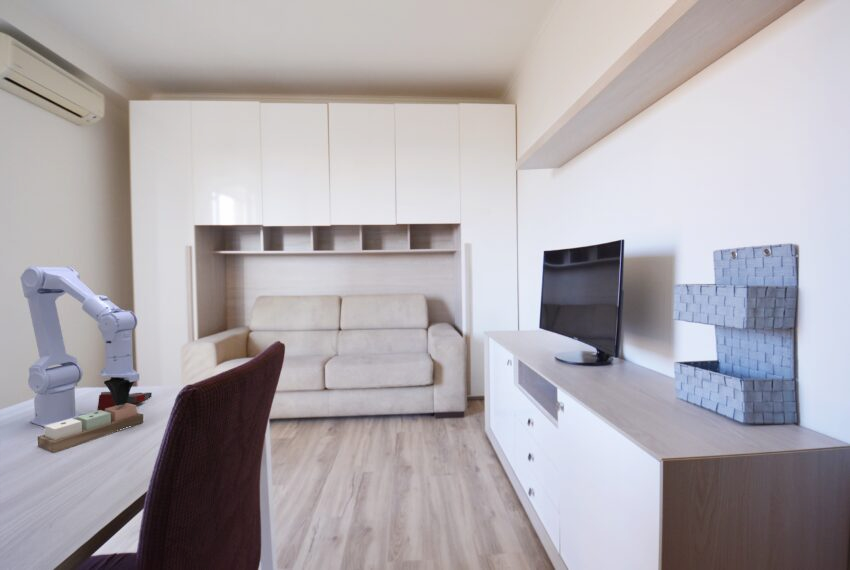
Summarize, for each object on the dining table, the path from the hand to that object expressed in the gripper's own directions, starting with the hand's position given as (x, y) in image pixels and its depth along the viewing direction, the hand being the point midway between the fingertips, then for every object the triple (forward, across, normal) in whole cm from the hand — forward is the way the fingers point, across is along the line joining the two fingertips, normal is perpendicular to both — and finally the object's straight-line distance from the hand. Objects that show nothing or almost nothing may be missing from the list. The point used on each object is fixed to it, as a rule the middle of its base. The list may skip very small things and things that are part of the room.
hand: (120, 404), depth 100 cm
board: (+6, 0, -6) cm, 8 cm away
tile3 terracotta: (+4, 0, 0) cm, 4 cm away
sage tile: (+4, 0, -6) cm, 7 cm away
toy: (+6, -16, +9) cm, 20 cm away
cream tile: (+4, 0, -12) cm, 13 cm away
